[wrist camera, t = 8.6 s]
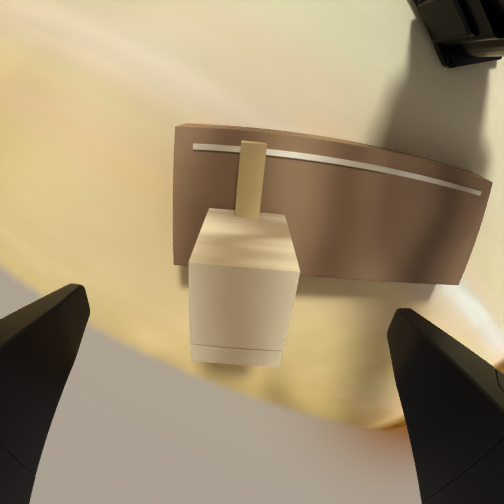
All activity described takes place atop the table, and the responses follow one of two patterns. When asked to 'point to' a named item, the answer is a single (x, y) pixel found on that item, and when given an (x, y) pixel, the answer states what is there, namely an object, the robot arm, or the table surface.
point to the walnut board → (336, 203)
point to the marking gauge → (242, 276)
